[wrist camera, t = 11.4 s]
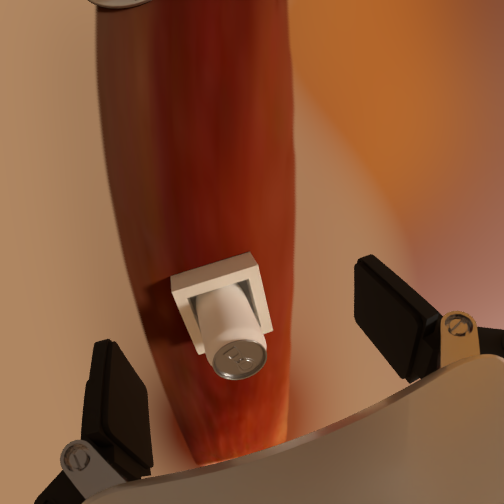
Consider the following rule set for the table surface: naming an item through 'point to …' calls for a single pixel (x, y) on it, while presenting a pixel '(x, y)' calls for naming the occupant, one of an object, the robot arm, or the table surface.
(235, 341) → the can
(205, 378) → the table surface
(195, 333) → the dock socket
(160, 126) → the table surface
